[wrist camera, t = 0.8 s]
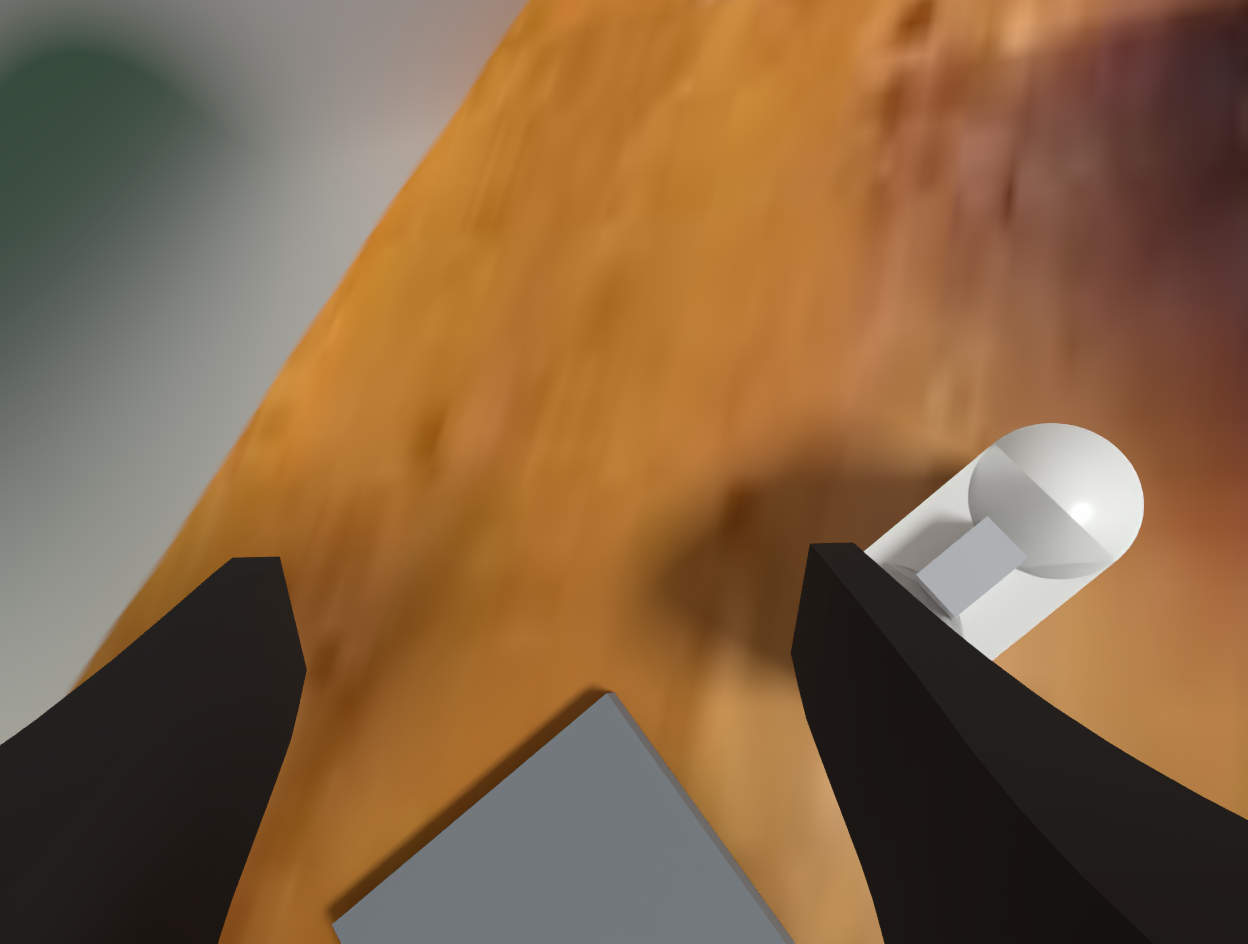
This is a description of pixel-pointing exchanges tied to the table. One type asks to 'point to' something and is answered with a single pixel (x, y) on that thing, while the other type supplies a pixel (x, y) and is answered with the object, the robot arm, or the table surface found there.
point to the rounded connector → (1016, 532)
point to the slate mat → (573, 858)
